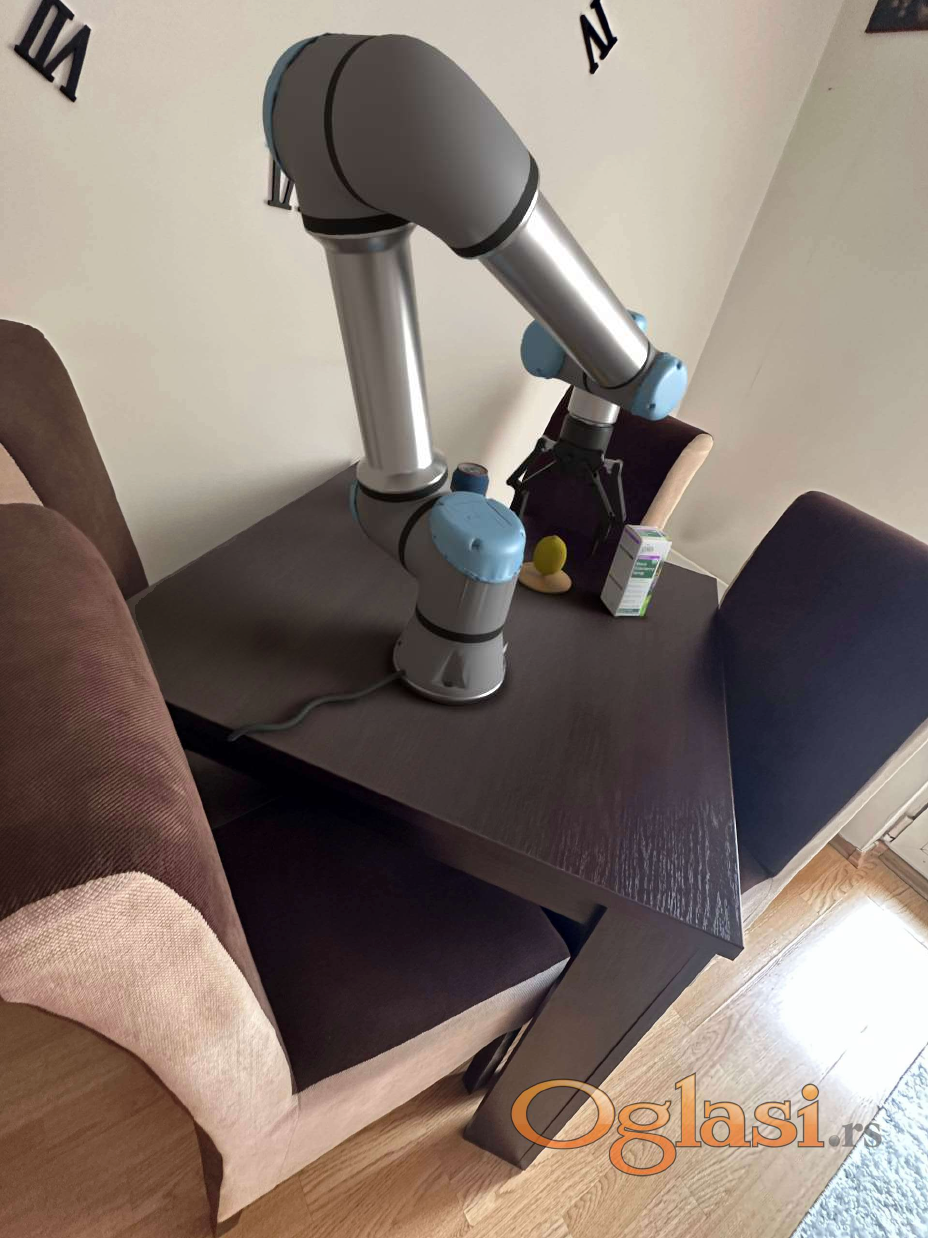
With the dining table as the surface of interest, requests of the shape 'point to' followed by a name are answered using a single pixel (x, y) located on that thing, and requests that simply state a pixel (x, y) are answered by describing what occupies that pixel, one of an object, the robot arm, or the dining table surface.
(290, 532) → the dining table surface
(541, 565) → the lemon
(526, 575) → the coaster
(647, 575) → the syrup box
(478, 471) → the soda can
